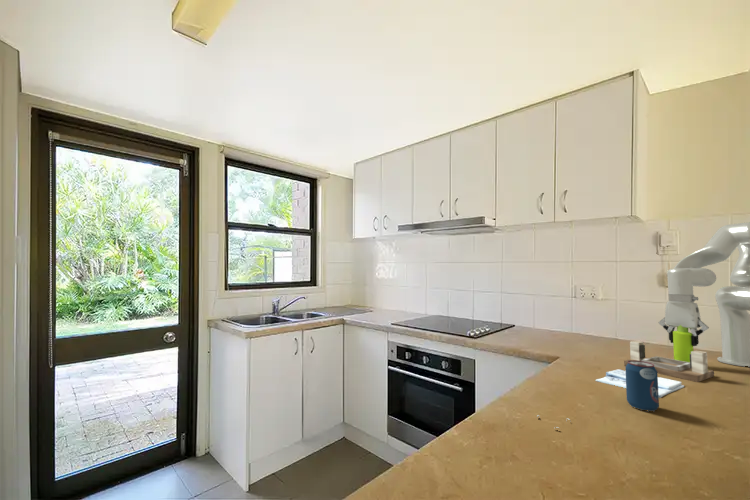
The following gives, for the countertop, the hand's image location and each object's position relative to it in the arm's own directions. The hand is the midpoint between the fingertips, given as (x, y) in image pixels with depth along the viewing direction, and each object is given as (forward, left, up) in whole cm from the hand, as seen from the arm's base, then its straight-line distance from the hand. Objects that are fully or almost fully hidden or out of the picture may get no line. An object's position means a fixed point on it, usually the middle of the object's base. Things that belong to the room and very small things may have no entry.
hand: (683, 343), depth 133 cm
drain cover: (+95, +8, -9) cm, 96 cm away
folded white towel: (+42, +2, -10) cm, 43 cm away
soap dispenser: (0, 0, -9) cm, 9 cm away
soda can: (+64, +13, -9) cm, 66 cm away
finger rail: (+15, 0, -9) cm, 17 cm away
